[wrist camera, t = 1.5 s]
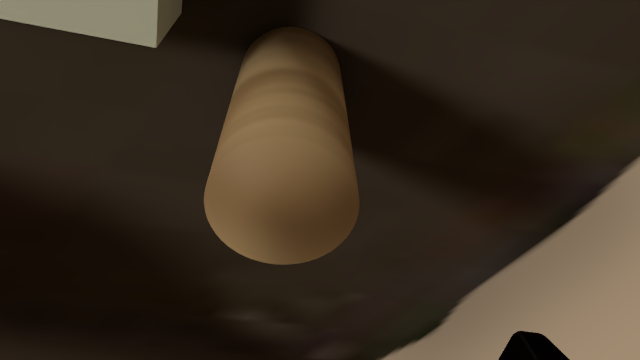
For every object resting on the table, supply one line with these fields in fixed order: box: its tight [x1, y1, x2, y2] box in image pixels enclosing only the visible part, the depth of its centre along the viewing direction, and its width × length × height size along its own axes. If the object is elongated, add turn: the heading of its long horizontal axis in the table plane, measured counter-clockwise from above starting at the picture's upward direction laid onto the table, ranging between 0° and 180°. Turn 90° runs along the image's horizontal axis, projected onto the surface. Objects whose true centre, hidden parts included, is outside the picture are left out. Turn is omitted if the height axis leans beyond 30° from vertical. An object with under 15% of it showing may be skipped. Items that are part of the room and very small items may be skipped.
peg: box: [204, 27, 359, 264], centre depth 15 cm, size 4×4×8 cm
